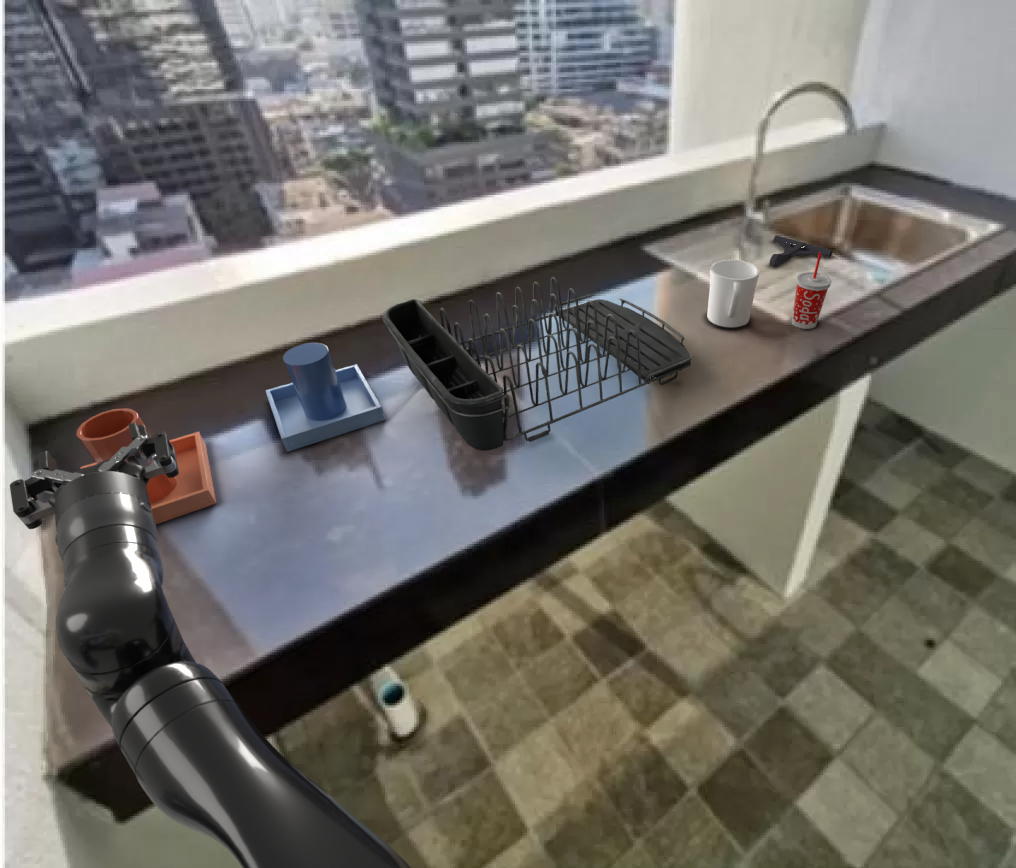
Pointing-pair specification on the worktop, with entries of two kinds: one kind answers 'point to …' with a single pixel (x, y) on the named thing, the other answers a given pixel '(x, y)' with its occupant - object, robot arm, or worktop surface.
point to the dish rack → (479, 397)
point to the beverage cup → (809, 297)
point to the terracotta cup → (119, 444)
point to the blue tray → (306, 431)
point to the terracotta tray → (186, 480)
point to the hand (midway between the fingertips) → (93, 442)
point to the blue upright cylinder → (315, 381)
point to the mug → (731, 293)
